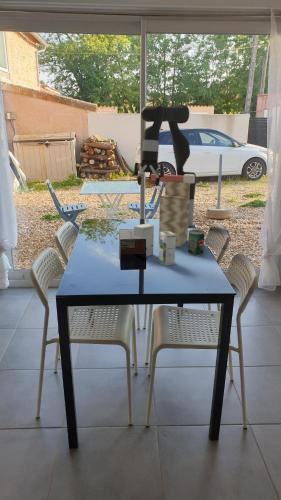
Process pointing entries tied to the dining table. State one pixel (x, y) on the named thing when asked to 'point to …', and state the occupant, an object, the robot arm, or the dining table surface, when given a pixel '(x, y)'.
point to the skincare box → (146, 236)
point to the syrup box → (167, 248)
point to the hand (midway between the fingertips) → (148, 185)
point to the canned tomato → (196, 242)
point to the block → (176, 178)
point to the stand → (175, 211)
